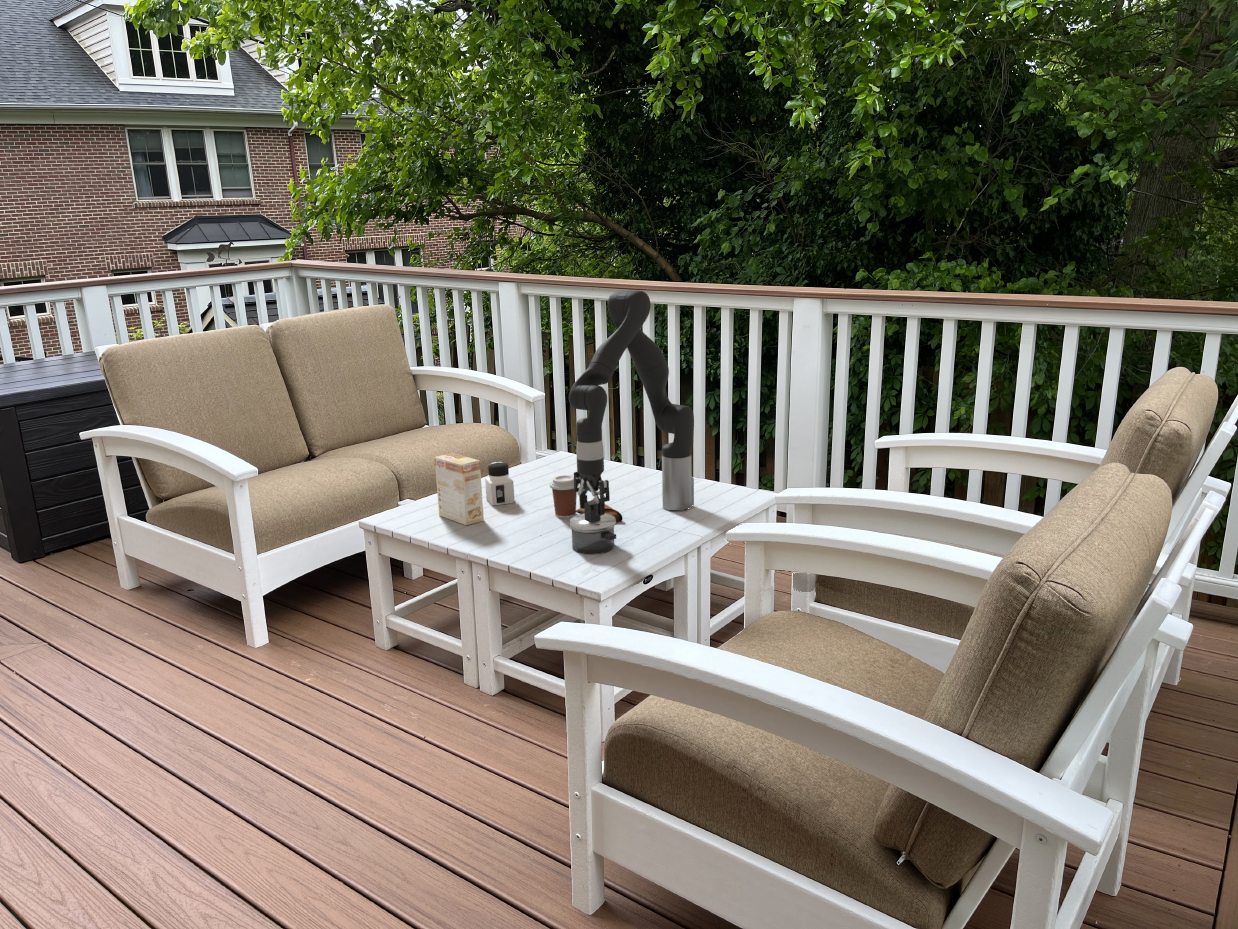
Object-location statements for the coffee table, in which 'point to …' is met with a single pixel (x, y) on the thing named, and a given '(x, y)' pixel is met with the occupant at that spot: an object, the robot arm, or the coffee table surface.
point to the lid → (592, 519)
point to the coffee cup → (564, 496)
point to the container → (499, 484)
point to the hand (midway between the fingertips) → (592, 511)
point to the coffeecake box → (459, 488)
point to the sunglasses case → (606, 512)
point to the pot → (593, 541)
